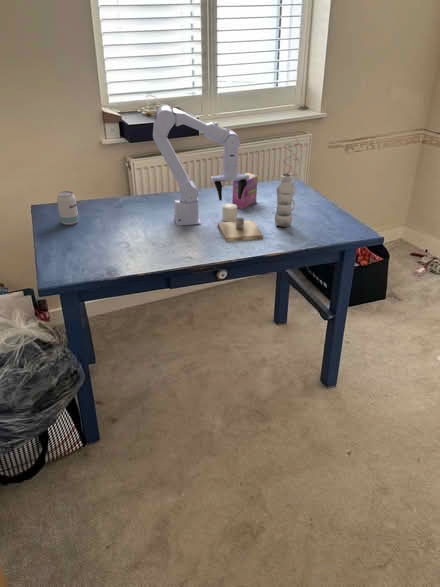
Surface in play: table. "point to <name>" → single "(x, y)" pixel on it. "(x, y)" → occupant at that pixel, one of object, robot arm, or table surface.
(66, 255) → the table surface
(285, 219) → the plastic bottle
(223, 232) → the stud base
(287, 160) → the dna model
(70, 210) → the beverage can
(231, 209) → the cap
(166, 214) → the table surface
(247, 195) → the box
